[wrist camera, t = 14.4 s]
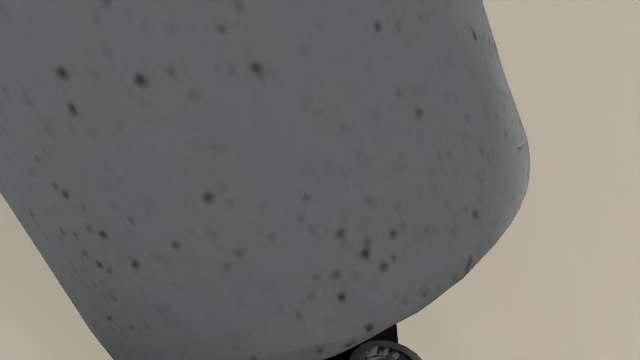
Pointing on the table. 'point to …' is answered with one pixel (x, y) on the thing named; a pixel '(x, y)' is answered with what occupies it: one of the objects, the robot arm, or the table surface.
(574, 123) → the table surface
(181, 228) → the ceramic mug
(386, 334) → the robot arm
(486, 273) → the table surface
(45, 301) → the table surface
